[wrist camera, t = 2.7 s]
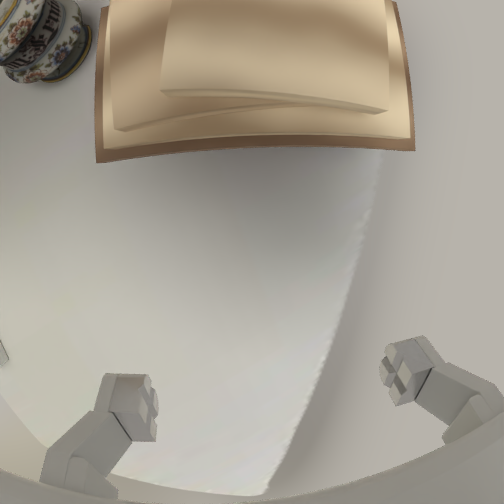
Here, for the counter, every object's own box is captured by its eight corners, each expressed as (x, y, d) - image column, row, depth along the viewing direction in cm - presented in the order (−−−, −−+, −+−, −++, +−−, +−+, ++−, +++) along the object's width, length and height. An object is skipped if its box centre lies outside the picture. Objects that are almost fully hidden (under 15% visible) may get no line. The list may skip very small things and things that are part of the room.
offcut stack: (397, 139, 18) (442, 135, 13) (114, 149, 18) (74, 147, 13) (380, 4, 15) (413, -27, 10) (118, 9, 15) (89, -24, 10)
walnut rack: (345, 153, 33) (415, 150, 18) (156, 161, 33) (96, 163, 18) (339, 56, 30) (396, 2, 15) (153, 62, 29) (101, 8, 14)
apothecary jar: (116, 28, 27) (46, -37, 10) (61, 104, 30) (-36, 84, 13) (65, 4, 25) (-4, -45, 8) (17, 72, 28) (-68, 51, 10)
